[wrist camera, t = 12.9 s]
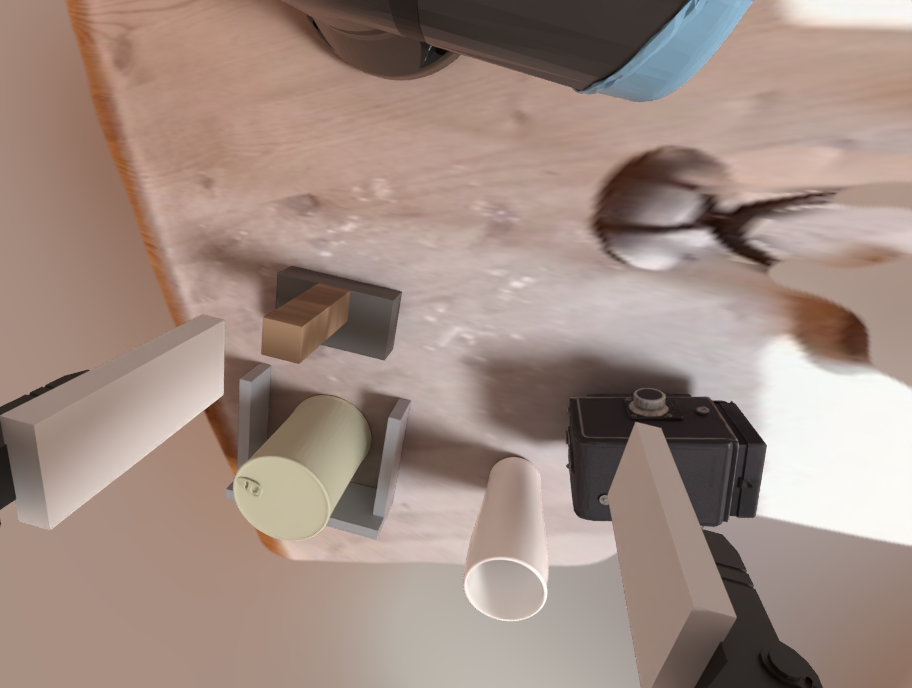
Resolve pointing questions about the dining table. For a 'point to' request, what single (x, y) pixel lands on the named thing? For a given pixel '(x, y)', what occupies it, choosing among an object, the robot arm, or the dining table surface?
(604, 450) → the camera
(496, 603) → the drinking glass
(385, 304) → the scraper
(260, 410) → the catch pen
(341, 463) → the can
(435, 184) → the dining table surface
